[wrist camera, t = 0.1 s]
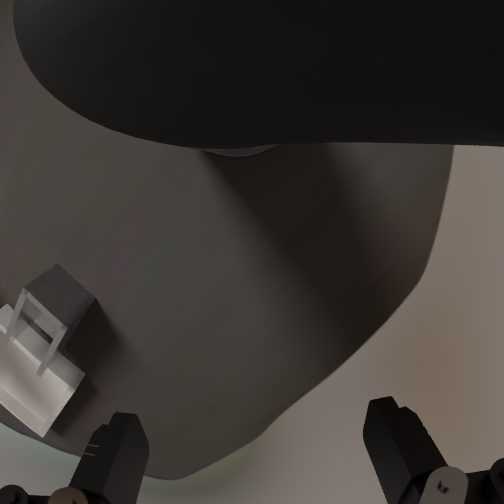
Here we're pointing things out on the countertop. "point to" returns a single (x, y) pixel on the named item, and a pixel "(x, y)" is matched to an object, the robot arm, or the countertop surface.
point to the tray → (33, 378)
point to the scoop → (50, 310)
